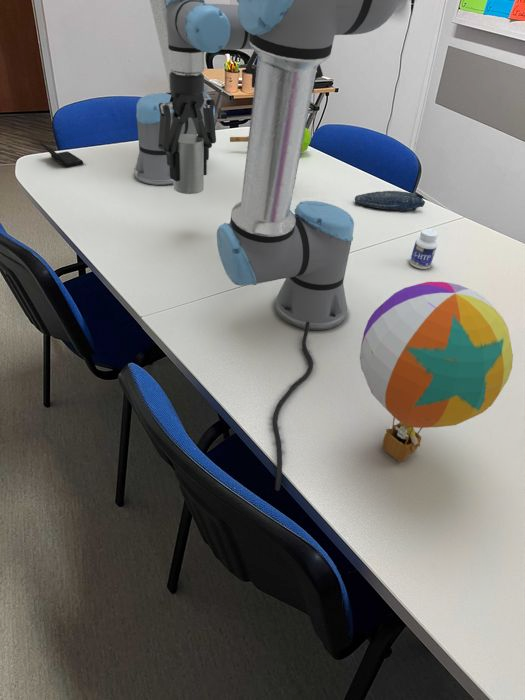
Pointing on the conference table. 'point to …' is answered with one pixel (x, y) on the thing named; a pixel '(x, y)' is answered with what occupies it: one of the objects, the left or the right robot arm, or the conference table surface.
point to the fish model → (391, 200)
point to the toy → (434, 359)
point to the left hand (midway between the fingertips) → (281, 103)
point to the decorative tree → (304, 145)
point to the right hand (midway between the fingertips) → (188, 176)
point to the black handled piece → (64, 157)
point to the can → (190, 164)
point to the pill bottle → (424, 249)
